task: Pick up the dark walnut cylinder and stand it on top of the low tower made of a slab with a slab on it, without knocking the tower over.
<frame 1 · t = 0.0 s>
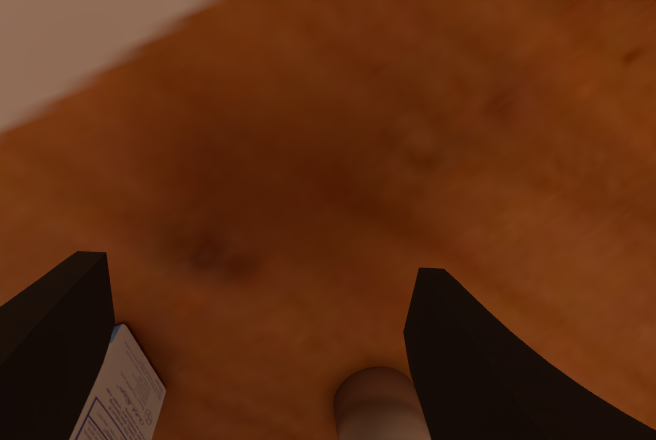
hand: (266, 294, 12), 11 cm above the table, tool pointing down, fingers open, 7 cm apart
medicine box: (75, 380, 25), on the table
walnut cylinder: (375, 401, 27), on the table
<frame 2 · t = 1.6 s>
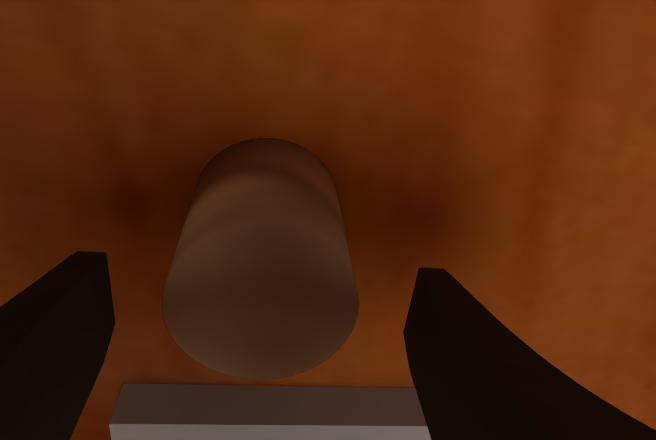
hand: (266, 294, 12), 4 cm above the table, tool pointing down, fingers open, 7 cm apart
walnut cylinder: (267, 204, 16), on the table
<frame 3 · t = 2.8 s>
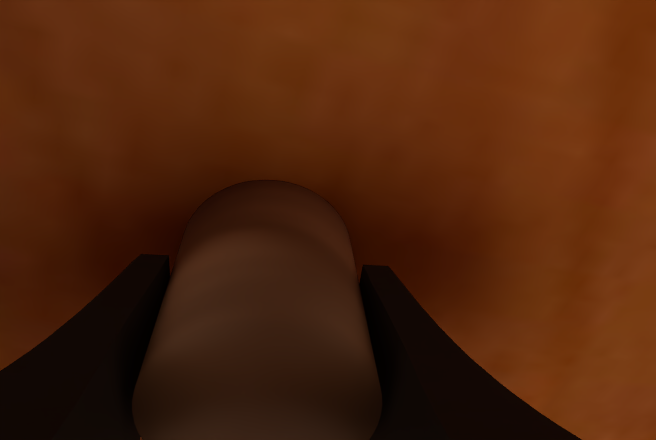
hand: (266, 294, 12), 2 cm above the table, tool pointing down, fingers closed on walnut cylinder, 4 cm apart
walnut cylinder: (267, 255, 13), on the table, touching gripper
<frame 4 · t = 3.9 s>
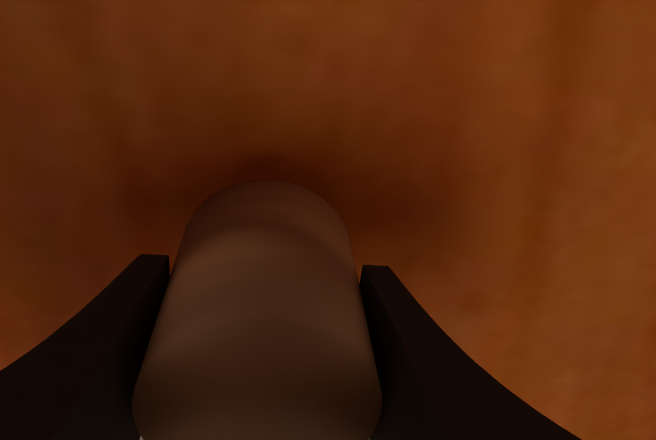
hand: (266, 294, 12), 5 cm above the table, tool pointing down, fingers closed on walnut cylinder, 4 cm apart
walnut cylinder: (267, 255, 13), point 3 cm above the table, touching gripper
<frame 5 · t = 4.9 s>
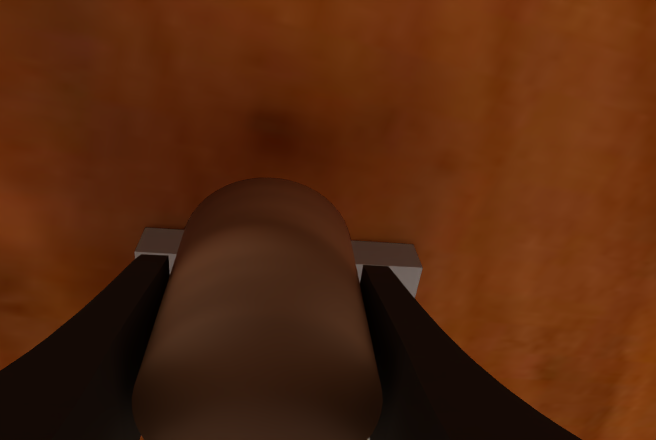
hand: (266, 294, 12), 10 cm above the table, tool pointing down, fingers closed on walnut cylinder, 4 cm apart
tower base: (274, 327, 26), on the table, touching tower top
walnut cylinder: (267, 253, 13), point 8 cm above the table, touching gripper
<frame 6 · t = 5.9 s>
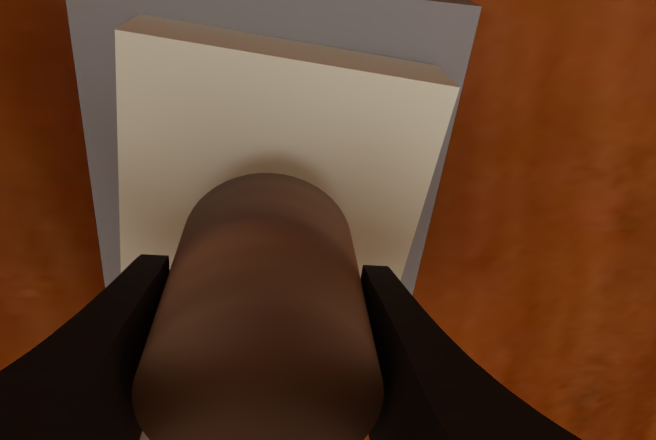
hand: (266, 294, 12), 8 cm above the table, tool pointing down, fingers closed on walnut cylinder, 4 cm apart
tower top: (275, 174, 18), point 2 cm above the table, touching tower base
tower base: (271, 146, 20), on the table, touching tower top
walnut cylinder: (268, 249, 13), point 7 cm above the table, touching gripper
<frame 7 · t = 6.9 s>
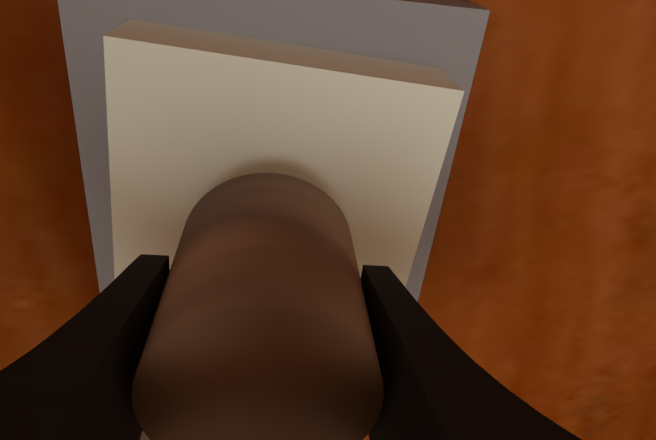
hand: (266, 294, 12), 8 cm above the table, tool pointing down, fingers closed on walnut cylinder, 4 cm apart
tower top: (274, 182, 17), point 2 cm above the table, touching tower base
tower base: (272, 154, 19), on the table, touching tower top
walnut cylinder: (268, 249, 13), point 6 cm above the table, touching gripper
when the fingers open (8 cm above the table, at t = 6.9 s): walnut cylinder drops 2 cm, point 4 cm above the table.
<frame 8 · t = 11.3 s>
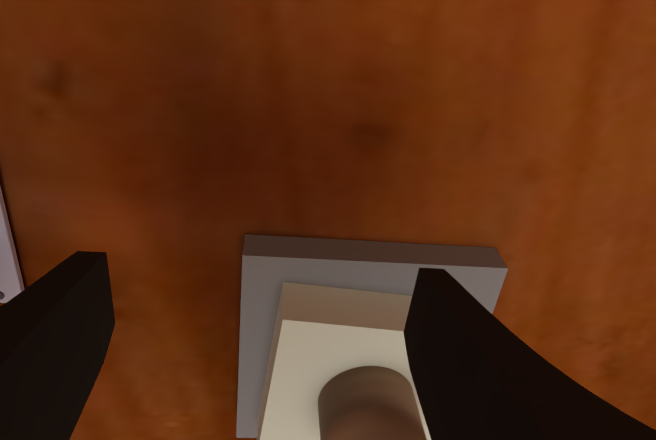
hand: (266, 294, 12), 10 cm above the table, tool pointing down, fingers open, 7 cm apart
tower top: (358, 362, 26), point 2 cm above the table, touching tower base
tower base: (354, 326, 28), on the table, touching tower top
walnut cylinder: (365, 400, 23), point 4 cm above the table
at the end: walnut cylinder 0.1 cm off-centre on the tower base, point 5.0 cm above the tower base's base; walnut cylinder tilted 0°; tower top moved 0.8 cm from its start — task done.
